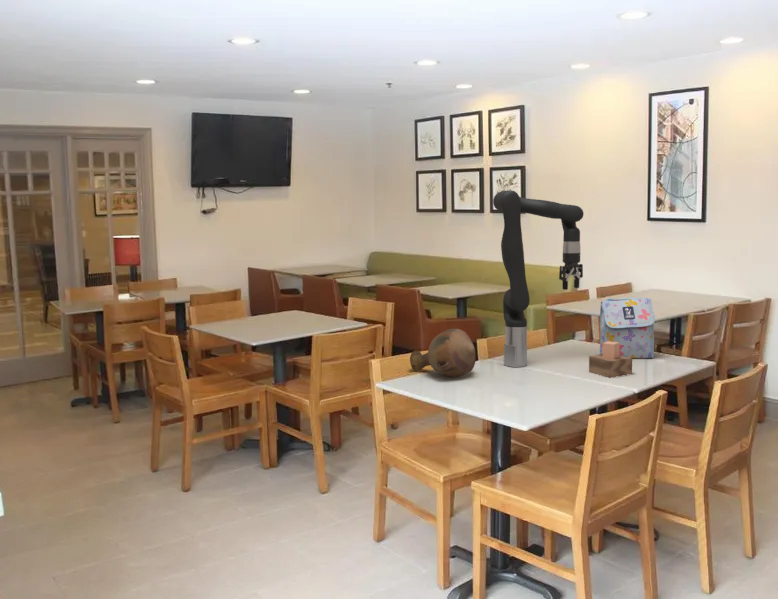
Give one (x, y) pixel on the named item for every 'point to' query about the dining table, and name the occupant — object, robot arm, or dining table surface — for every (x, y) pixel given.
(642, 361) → the dining table surface
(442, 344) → the jug
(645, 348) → the lunch bag
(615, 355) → the terracotta block
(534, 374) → the dining table surface
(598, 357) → the walnut box
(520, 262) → the robot arm
